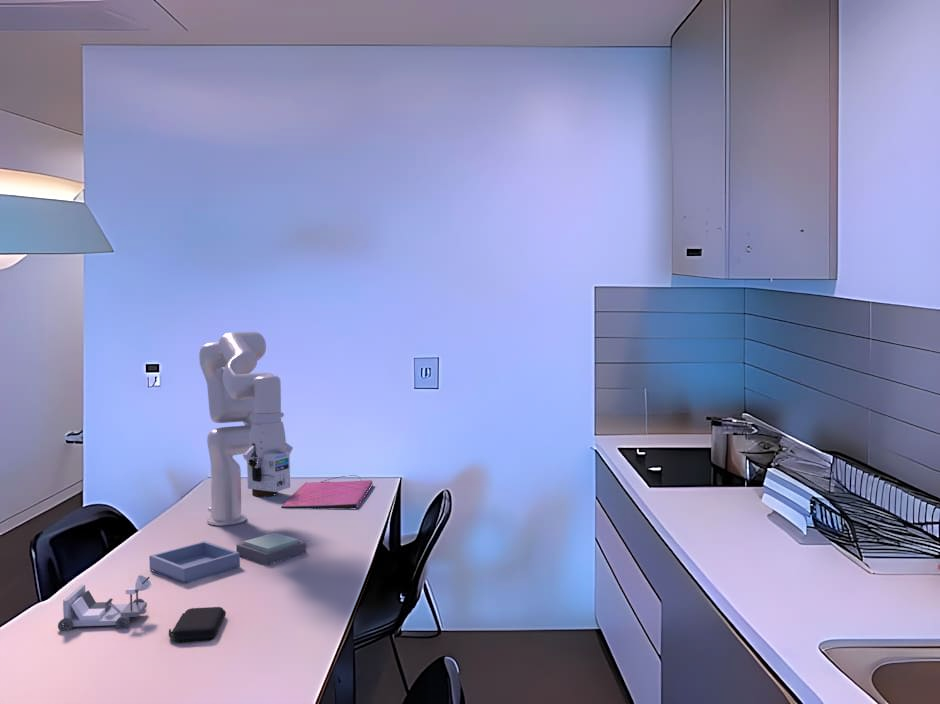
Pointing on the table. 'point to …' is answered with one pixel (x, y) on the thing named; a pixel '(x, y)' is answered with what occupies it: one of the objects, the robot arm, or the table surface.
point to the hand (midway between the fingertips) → (268, 478)
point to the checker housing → (271, 553)
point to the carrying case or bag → (198, 625)
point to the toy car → (102, 608)
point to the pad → (270, 542)
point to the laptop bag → (329, 494)
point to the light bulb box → (272, 472)
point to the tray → (194, 561)
